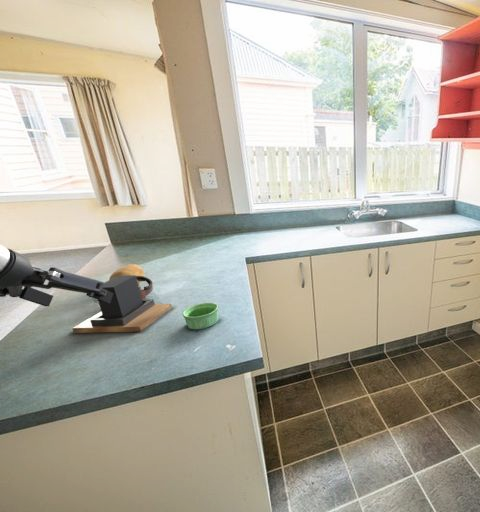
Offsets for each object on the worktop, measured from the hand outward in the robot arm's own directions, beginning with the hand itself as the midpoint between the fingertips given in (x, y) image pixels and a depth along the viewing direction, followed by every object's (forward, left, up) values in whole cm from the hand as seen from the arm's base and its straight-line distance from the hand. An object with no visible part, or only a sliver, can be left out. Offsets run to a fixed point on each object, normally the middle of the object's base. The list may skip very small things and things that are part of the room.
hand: (80, 299), depth 74 cm
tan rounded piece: (-18, +37, -13) cm, 43 cm away
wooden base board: (-1, +12, -12) cm, 17 cm away
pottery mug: (-10, +27, -13) cm, 31 cm away
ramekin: (+23, +9, -13) cm, 28 cm away
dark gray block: (-1, +12, -11) cm, 16 cm away
